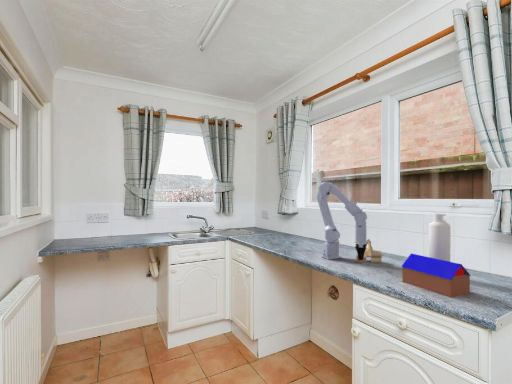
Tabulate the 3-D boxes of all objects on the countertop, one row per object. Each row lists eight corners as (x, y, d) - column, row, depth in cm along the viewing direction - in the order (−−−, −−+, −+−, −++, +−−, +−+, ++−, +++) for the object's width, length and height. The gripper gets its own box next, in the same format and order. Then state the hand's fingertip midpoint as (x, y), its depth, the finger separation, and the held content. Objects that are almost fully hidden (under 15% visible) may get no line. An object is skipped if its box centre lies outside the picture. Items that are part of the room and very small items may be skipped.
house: (451, 298, 99) (451, 265, 99) (401, 282, 117) (401, 254, 117) (471, 294, 104) (471, 262, 104) (420, 278, 122) (420, 252, 122)
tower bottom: (381, 264, 148) (381, 258, 148) (371, 263, 149) (371, 257, 149) (380, 261, 152) (380, 256, 152) (370, 261, 154) (371, 255, 154)
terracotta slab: (366, 262, 151) (366, 257, 151) (356, 261, 152) (356, 256, 152) (366, 260, 155) (366, 255, 155) (356, 259, 157) (356, 254, 157)
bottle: (443, 280, 120) (443, 215, 120) (425, 275, 127) (425, 213, 127) (454, 277, 123) (454, 214, 124) (435, 273, 131) (435, 213, 131)
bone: (382, 251, 173) (377, 255, 160) (369, 260, 177) (364, 265, 164) (370, 237, 177) (364, 240, 164) (358, 246, 181) (352, 250, 168)
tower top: (381, 258, 148) (381, 252, 148) (371, 257, 149) (371, 251, 149) (380, 256, 152) (380, 250, 152) (370, 255, 154) (370, 250, 154)
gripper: (368, 235, 145) (368, 261, 145) (368, 232, 159) (368, 256, 159) (354, 235, 148) (354, 260, 148) (355, 231, 162) (355, 255, 161)
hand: (360, 258), depth 154 cm, fingers open, 7 cm apart
